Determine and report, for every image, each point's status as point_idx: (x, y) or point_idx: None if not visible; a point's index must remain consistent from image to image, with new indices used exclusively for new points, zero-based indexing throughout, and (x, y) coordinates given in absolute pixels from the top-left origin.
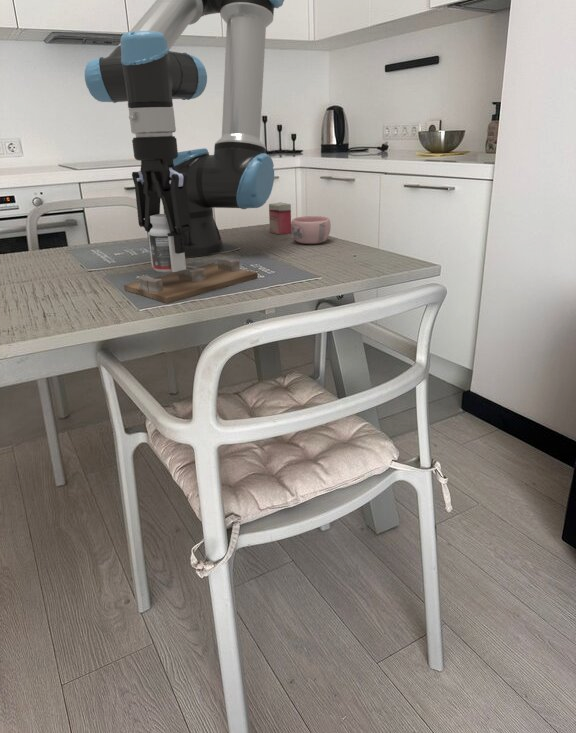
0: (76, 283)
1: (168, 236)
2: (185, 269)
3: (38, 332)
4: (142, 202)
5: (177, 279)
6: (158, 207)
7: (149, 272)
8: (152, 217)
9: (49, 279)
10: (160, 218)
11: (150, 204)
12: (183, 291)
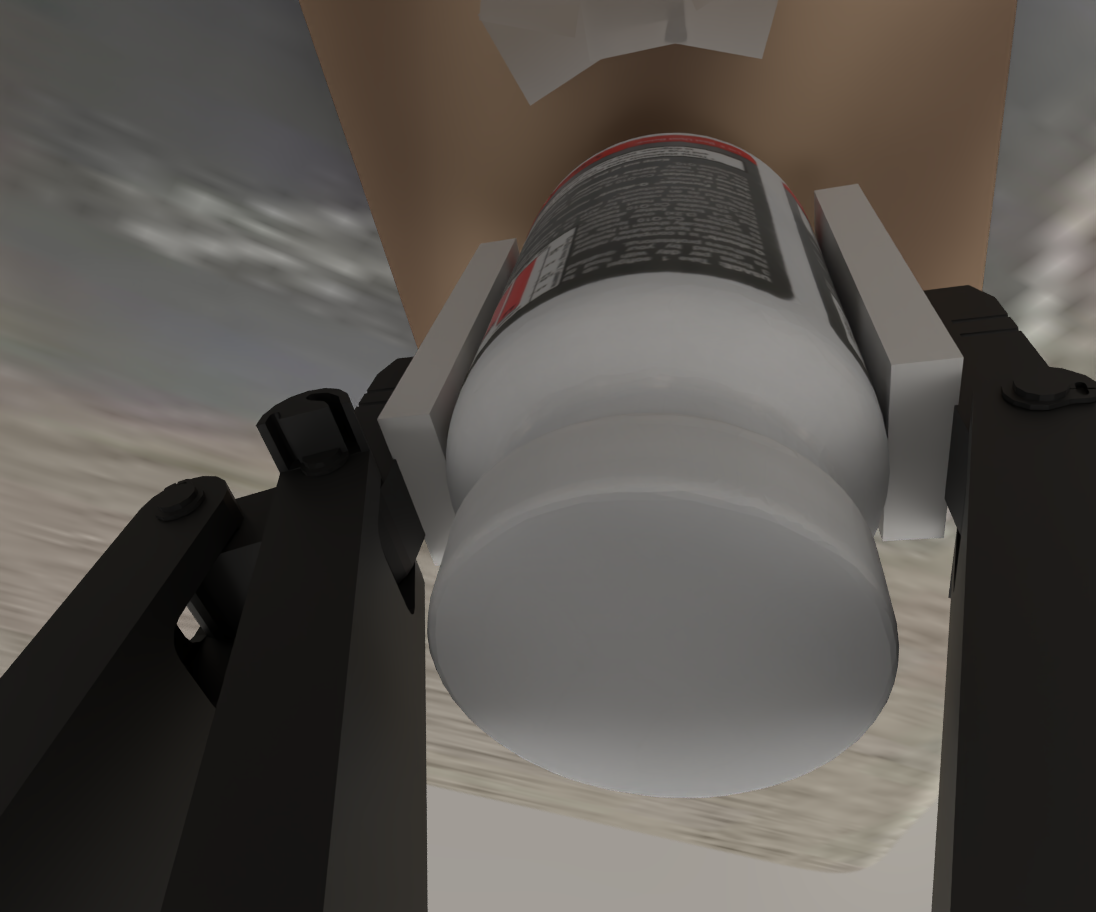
0: None
1: (893, 534)
2: (612, 52)
3: (824, 818)
4: (134, 892)
5: (561, 107)
6: (361, 718)
7: (40, 107)
8: (682, 795)
9: (29, 588)
10: (824, 757)
11: (420, 905)
12: (944, 248)
